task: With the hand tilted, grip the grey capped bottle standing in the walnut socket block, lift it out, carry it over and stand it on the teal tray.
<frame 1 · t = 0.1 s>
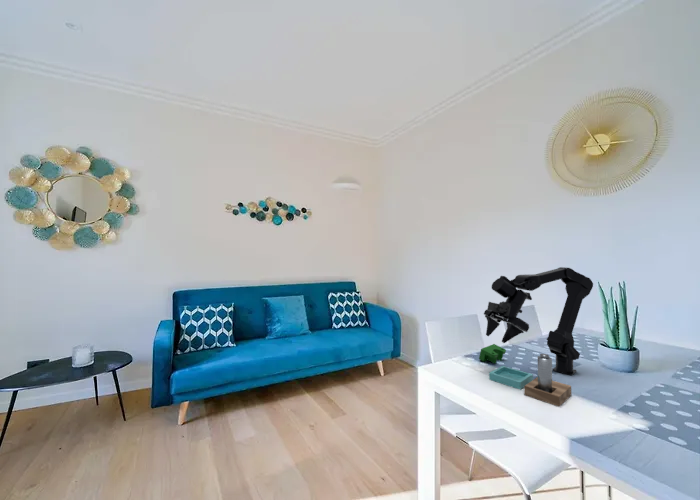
hand: (494, 338, 115), 15 cm above the table, tool tilted 35°, fingers open, 9 cm apart
grey capped bottle: (545, 397, 99), resting in socket block
tray: (510, 380, 112), on the table
socket block: (547, 394, 101), on the table
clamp: (492, 361, 133), on the table
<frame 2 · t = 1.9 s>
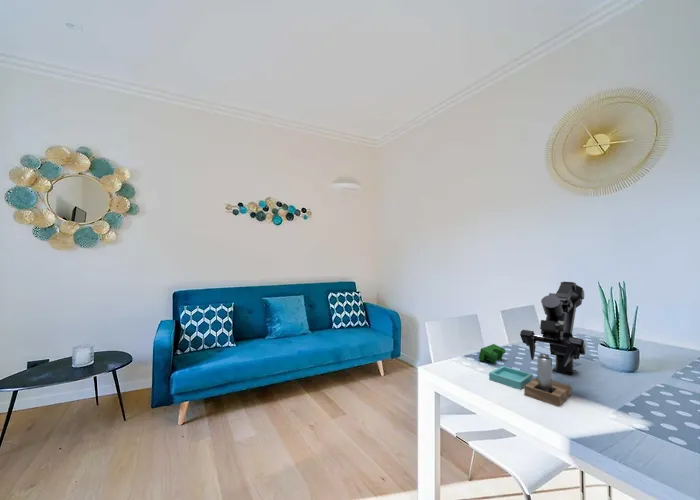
hand: (547, 362, 102), 10 cm above the table, tool tilted 45°, fingers open, 9 cm apart
nothing on the table moved.
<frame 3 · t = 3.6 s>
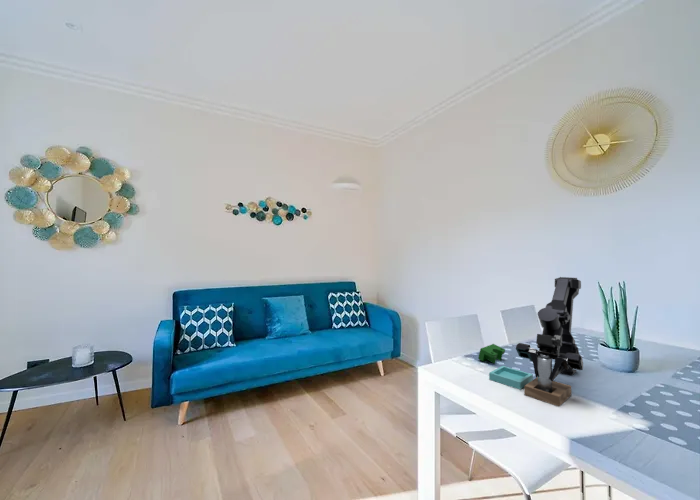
hand: (543, 378, 98), 7 cm above the table, tool tilted 45°, fingers closed on grey capped bottle, 4 cm apart
grey capped bottle: (545, 397, 99), resting in socket block, touching gripper
everything else where it was.
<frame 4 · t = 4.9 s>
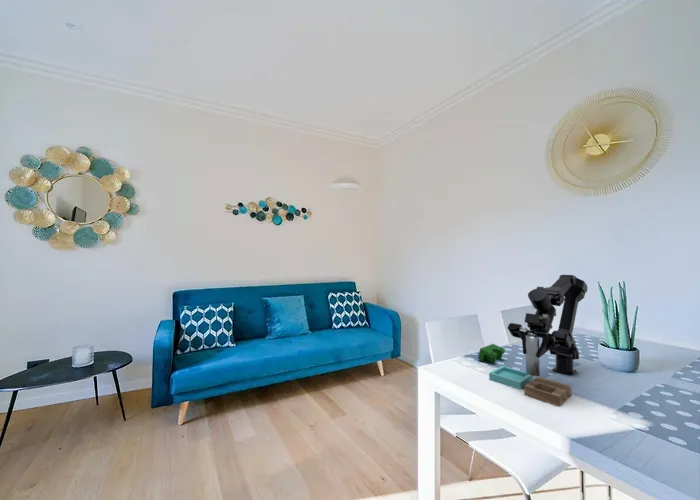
hand: (530, 355, 102), 13 cm above the table, tool tilted 45°, fingers closed on grey capped bottle, 4 cm apart
grey capped bottle: (532, 373, 103), point 6 cm above the table, touching gripper
everything else where it was.
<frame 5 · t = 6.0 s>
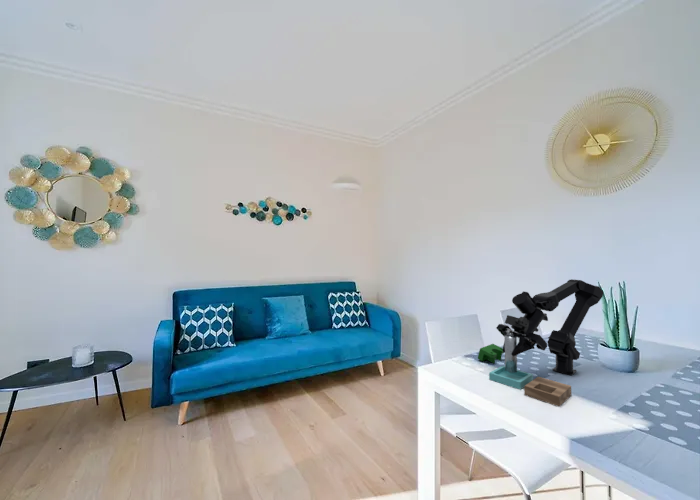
hand: (507, 353, 112), 10 cm above the table, tool tilted 45°, fingers closed on grey capped bottle, 4 cm apart
grey capped bottle: (511, 370, 112), point 4 cm above the table, touching gripper
everything else where it was.
when the fingers open (8 cm above the table, at t = 6.6 s): grey capped bottle stays where it is, resting on tray.
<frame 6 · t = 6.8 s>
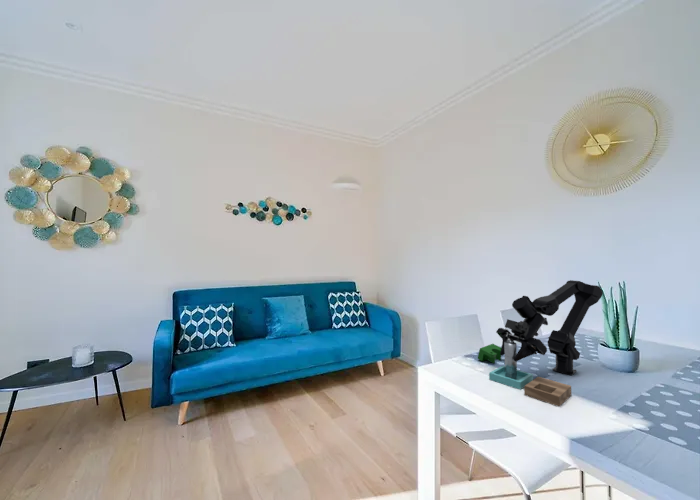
hand: (507, 357, 112), 9 cm above the table, tool tilted 45°, fingers open, 6 cm apart
grey capped bottle: (510, 377, 112), point 1 cm above the table, touching tray
everything else where it was.
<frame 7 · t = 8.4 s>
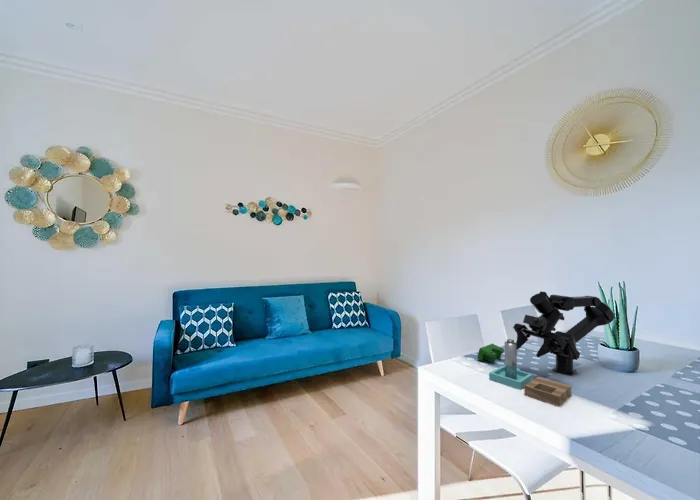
hand: (526, 352, 114), 10 cm above the table, tool tilted 45°, fingers open, 9 cm apart
nothing on the table moved.
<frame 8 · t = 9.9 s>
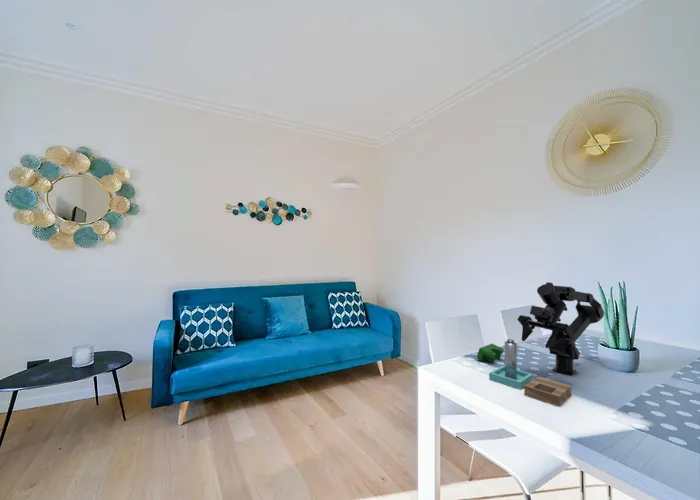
hand: (533, 343, 112), 14 cm above the table, tool tilted 45°, fingers open, 9 cm apart
nothing on the table moved.
at the end: grey capped bottle inside the target area on the tray (0.0 cm from its centre), point 1.0 cm above the tray's base; grey capped bottle touching tray; the gripper is holding nothing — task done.
